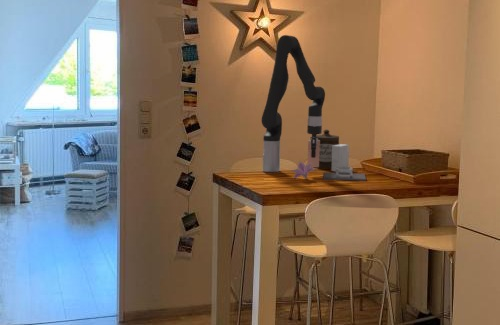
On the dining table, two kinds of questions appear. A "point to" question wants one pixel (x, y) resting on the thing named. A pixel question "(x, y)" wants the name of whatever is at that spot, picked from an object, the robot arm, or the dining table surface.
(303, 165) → the lily
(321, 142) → the labeled lidded canister
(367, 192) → the dining table surface
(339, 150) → the skincare box
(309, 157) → the pink rectangular block
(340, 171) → the collar stand
